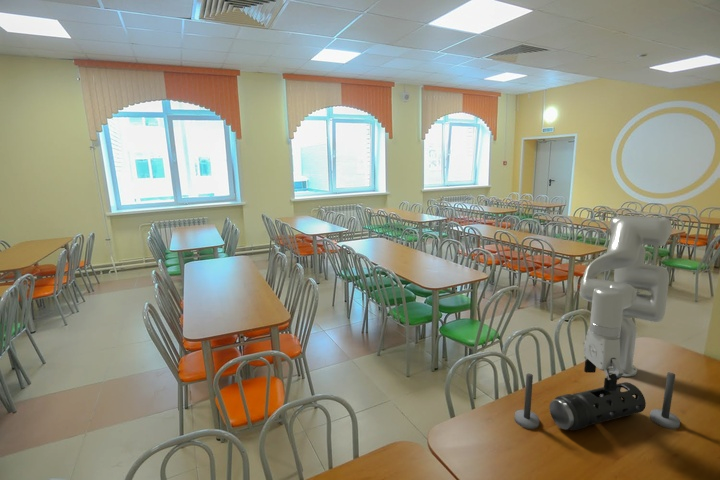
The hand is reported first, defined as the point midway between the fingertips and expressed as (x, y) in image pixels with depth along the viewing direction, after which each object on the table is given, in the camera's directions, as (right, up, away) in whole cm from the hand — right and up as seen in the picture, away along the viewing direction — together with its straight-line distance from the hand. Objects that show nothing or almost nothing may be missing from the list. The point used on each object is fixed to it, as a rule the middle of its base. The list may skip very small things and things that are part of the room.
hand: (599, 380), depth 109 cm
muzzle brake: (0, -14, +3) cm, 14 cm away
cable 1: (-21, -14, +4) cm, 25 cm away
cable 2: (+21, -13, +2) cm, 25 cm away
